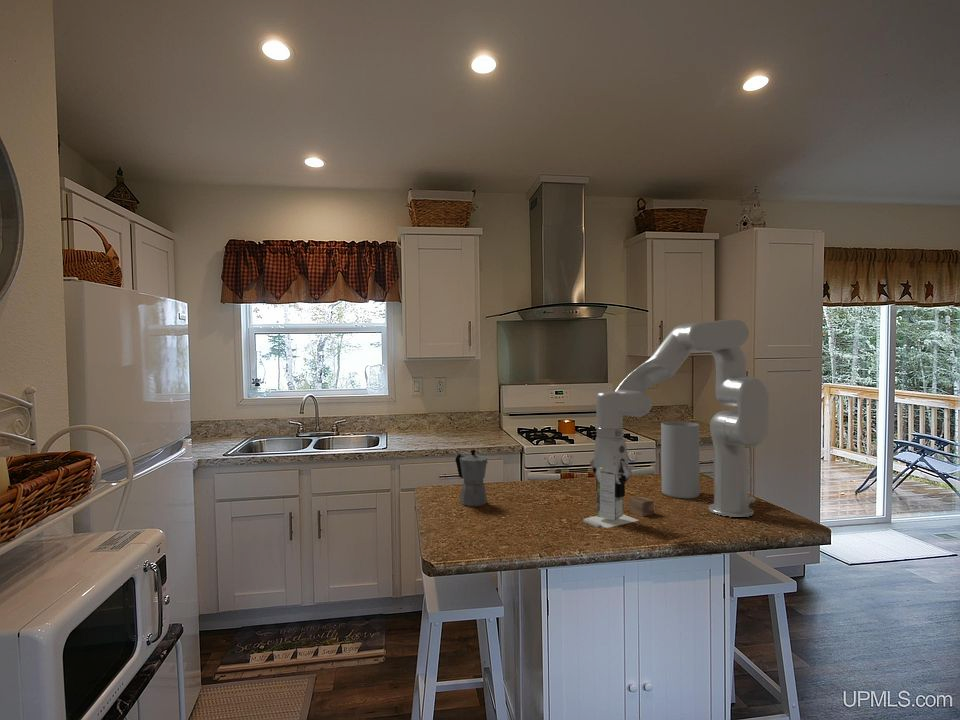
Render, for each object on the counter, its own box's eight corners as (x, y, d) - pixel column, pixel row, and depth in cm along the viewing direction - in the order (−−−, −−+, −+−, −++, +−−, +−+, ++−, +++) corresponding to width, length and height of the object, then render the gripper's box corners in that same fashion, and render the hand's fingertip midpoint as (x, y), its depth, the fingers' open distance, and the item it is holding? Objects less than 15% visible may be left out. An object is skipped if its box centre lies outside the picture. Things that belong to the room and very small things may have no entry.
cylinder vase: (655, 494, 178) (654, 424, 178) (672, 488, 186) (671, 420, 186) (689, 501, 169) (688, 427, 169) (706, 494, 177) (705, 423, 177)
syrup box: (605, 512, 152) (604, 464, 152) (624, 516, 148) (623, 466, 148) (596, 517, 147) (596, 467, 148) (615, 521, 144) (615, 470, 144)
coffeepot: (497, 503, 168) (496, 450, 168) (476, 509, 162) (476, 453, 162) (466, 495, 179) (466, 444, 179) (446, 500, 173) (445, 448, 173)
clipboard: (615, 512, 157) (615, 508, 157) (645, 523, 146) (645, 519, 146) (575, 521, 149) (575, 516, 149) (604, 533, 139) (604, 528, 139)
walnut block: (641, 512, 158) (641, 496, 158) (654, 516, 153) (653, 500, 153) (629, 514, 155) (629, 498, 155) (642, 519, 151) (642, 502, 151)
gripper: (641, 436, 142) (642, 499, 142) (598, 429, 157) (599, 485, 157) (622, 438, 138) (622, 503, 138) (580, 431, 154) (580, 489, 154)
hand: (610, 493), depth 148 cm, fingers closed on syrup box, 7 cm apart
